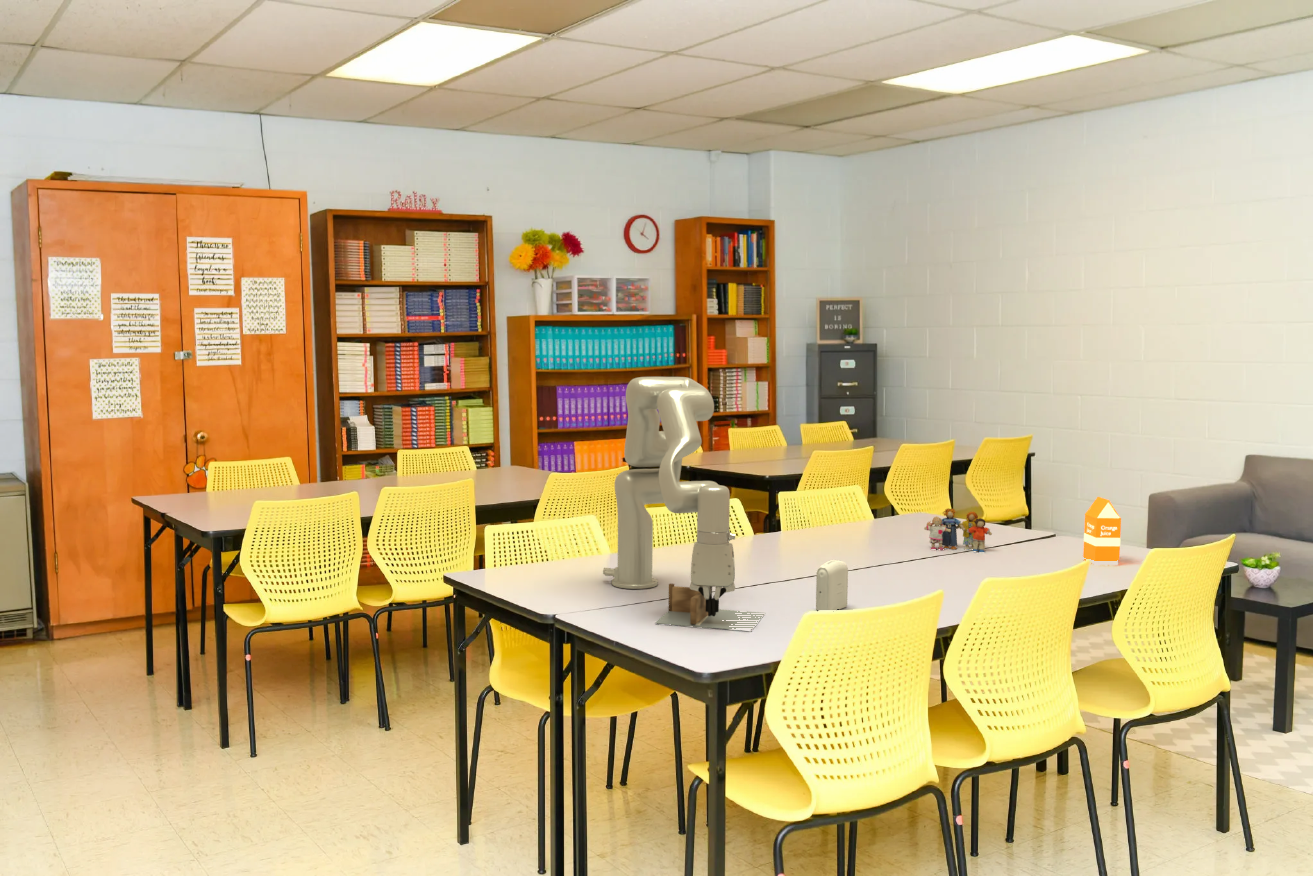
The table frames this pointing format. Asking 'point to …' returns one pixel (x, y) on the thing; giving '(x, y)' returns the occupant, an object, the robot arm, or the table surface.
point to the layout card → (709, 619)
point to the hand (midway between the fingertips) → (712, 614)
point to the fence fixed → (681, 598)
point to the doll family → (948, 535)
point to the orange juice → (1102, 532)
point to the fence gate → (698, 608)
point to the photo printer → (832, 585)
